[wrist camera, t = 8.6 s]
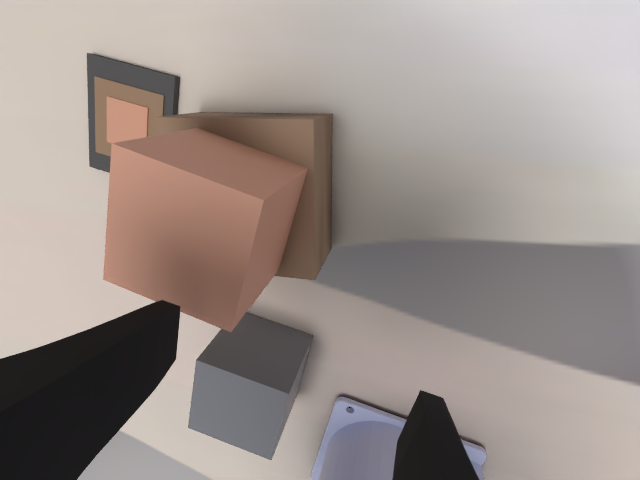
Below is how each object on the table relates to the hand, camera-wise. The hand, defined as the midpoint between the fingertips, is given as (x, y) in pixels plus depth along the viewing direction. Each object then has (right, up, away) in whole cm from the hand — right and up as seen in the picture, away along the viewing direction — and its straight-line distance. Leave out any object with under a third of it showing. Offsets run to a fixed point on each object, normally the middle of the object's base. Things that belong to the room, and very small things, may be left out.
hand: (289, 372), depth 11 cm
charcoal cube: (-2, -3, +14) cm, 14 cm away
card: (-9, +10, +10) cm, 17 cm away
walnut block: (-2, +7, +10) cm, 12 cm away
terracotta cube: (-3, +6, +6) cm, 8 cm away
